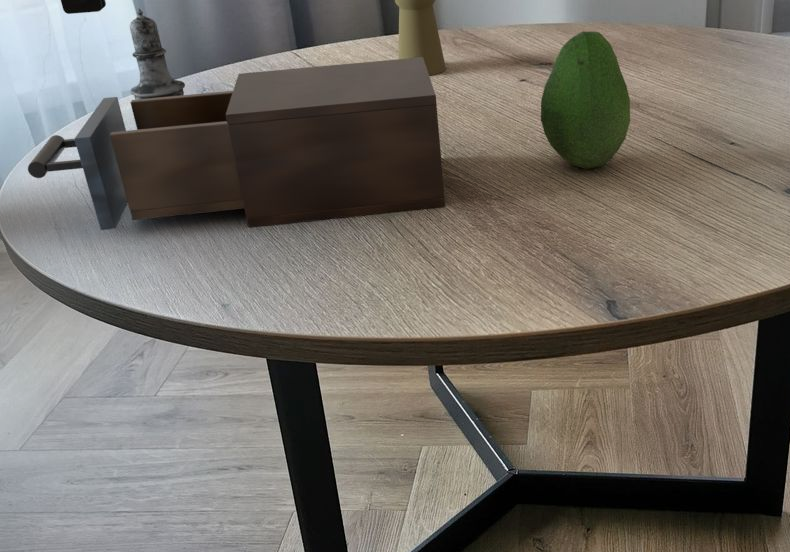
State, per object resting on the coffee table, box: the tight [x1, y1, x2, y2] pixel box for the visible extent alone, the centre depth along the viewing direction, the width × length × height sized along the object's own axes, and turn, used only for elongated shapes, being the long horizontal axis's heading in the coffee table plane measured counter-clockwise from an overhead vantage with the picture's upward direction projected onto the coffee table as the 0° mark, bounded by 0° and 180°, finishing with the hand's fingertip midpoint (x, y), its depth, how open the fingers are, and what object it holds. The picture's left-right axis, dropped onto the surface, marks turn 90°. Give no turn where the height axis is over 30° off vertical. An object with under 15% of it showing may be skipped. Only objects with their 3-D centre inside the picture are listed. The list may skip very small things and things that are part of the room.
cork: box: [394, 0, 447, 77], centre depth 118 cm, size 6×6×11 cm
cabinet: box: [226, 57, 446, 228], centre depth 84 cm, size 17×13×10 cm
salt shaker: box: [129, 8, 186, 100], centre depth 105 cm, size 6×6×12 cm
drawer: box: [27, 90, 244, 231], centre depth 82 cm, size 20×11×8 cm, turn 99°
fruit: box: [540, 30, 631, 170], centre depth 85 cm, size 8×8×12 cm
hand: (85, 10), depth 83 cm, fingers closed
